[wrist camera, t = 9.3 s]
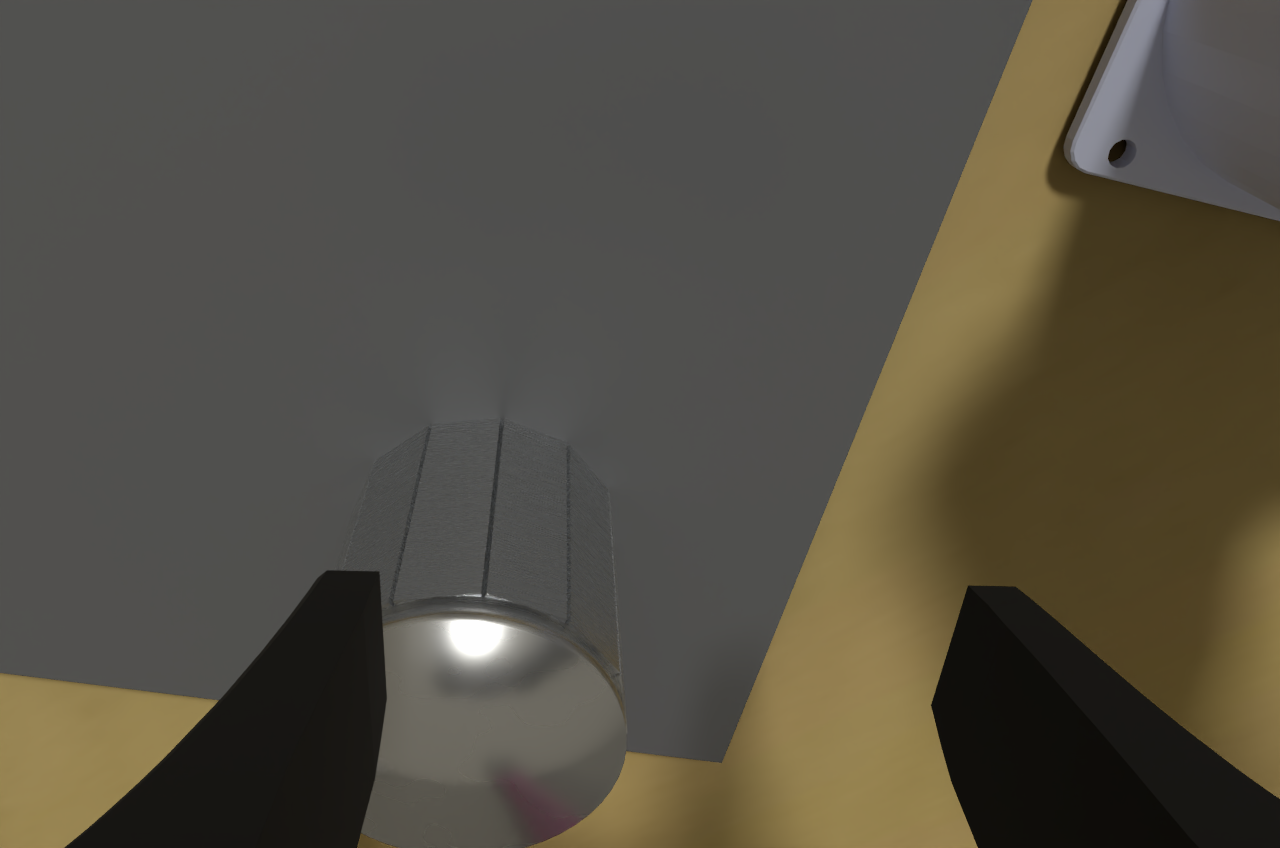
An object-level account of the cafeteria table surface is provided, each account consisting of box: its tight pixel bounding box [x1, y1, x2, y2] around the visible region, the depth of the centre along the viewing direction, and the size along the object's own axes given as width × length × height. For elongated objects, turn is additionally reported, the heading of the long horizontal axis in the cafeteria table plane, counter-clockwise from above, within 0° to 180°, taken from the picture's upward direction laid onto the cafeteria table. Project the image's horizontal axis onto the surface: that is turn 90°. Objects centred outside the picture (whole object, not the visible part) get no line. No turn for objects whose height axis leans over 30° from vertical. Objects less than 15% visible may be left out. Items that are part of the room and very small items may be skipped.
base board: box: [0, 0, 1032, 763], centre depth 20 cm, size 20×20×1 cm
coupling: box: [335, 418, 627, 848], centre depth 19 cm, size 5×5×6 cm
